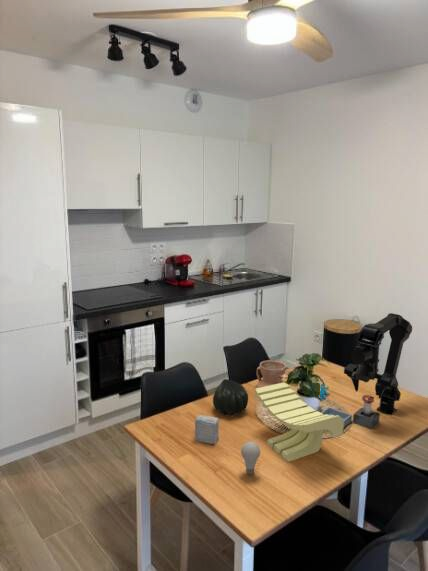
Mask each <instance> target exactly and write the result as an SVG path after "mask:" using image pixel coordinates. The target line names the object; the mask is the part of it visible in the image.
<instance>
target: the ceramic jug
mask: <svg viewBox="0 0 428 571" xmlns="http://www.w3.org/2000/svg"><path fill="white" fill-rule="evenodd" d="M286 371H287V365H286V364H285V363H284V362H281V361H277V360H269V359H268V360H263V361H261V362H260V363H259V366H258V367H257V368H256V377H257V380H258V382H257V384H256V388H260V387H265V386H270V385H274V384H279V383H286V382H285V381H283V380H282V379H284V380H286V379H287V378H288V375H286V374H285V373H286ZM261 376H262V377H261Z"/></svg>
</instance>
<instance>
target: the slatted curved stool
mask: <svg viewBox="0 0 428 571" xmlns="http://www.w3.org/2000/svg"><path fill="white" fill-rule="evenodd" d="M254 391H255V392H254V396H255V397H257V398H258V402H260V403H261V404H262V407H263V408H265V409H267V414H268V413H269V414H270V415H271V416H272V417H274V419H276V420H277V421H278V422H280V423H282V424H283V425H284V426H285V427H286V428H288V429H289V431H287V432H285V433H283V434H281V435H278V436H275V437H271V438H268V439H267V441H266V444H267V445H269V447H271V448H273V450H274V451H275V452H276V453H277V454H279V455H281V457H282V458H283V459H284V460H286V462H291V461H295V460H297V459H300V458H303V457H307V456H309V455H312V454H315V453H316V454H317V452H318V451H320V449H321V448H322V443H323V436H324V433H328V434H329V435H330V436H331V437H332V438H337V437H340V436H342V435H344V428H343V427H344V422H343V419H342V418H341V417H340V416H338V415H337V416H334V415H331V416H329V415H327V414H326V415H324V414H322V413H321V412H320V411H319V410H316V409H314V408H313V407H311V406H309V405H308V403H306V402H304V400H301V397H300V396H299V395H298V394H297V393H296V392H295V390H293V389H292V387H291V385H289V384H288V383H286V382H285V383H279V384H274V385H270V386H265V387H260V388H257V387H256V388H254Z"/></svg>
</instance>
